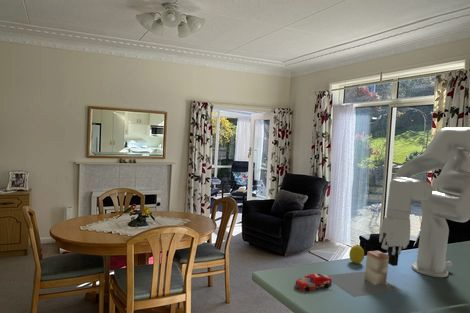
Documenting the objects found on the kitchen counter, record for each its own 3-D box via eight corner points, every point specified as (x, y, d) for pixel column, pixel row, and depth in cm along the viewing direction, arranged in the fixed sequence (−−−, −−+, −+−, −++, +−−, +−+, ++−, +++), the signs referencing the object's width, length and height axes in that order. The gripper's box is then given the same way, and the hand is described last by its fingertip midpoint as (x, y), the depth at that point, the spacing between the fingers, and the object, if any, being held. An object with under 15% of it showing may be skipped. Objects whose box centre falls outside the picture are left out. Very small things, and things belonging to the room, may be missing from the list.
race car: (301, 293, 115) (302, 281, 115) (291, 286, 120) (292, 274, 120) (334, 288, 120) (335, 276, 120) (323, 281, 125) (324, 270, 125)
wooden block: (375, 277, 130) (378, 250, 129) (385, 283, 125) (389, 255, 125) (364, 278, 128) (367, 251, 127) (374, 284, 124) (377, 256, 123)
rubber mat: (367, 272, 136) (368, 271, 136) (401, 291, 121) (401, 290, 121) (323, 277, 128) (323, 275, 128) (353, 298, 114) (353, 296, 113)
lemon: (364, 268, 140) (366, 247, 140) (349, 265, 141) (351, 246, 141) (362, 262, 146) (364, 243, 145) (347, 260, 147) (349, 241, 146)
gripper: (405, 211, 134) (399, 259, 135) (373, 211, 128) (368, 261, 130) (422, 216, 127) (416, 267, 128) (389, 217, 121) (383, 270, 123)
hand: (392, 264), depth 129 cm, fingers closed
